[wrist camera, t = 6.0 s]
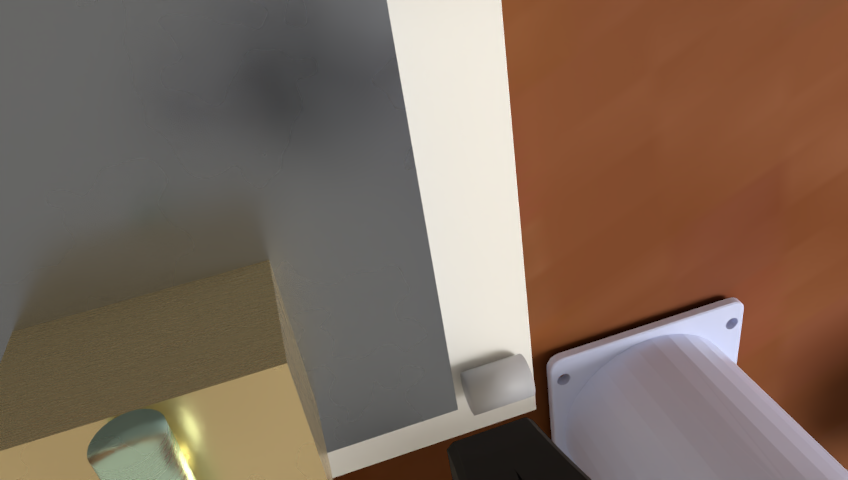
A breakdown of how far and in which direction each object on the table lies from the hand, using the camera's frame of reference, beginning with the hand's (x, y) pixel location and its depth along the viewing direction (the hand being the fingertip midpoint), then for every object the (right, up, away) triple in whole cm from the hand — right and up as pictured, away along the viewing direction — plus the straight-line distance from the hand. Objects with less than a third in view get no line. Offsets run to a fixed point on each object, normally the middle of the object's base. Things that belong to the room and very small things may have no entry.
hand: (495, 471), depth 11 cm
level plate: (-8, +3, +6) cm, 11 cm away
